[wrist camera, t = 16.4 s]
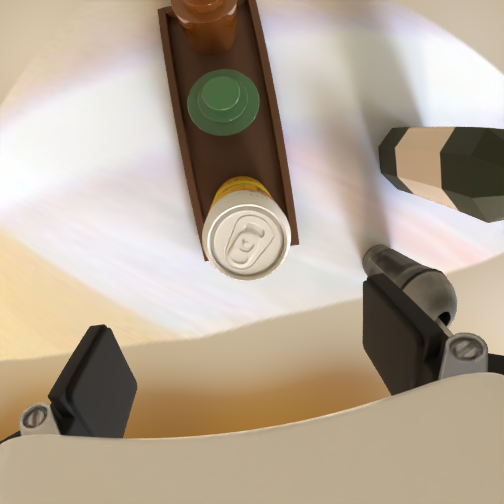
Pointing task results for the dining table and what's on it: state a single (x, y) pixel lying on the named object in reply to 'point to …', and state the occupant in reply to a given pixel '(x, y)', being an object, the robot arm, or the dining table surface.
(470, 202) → the wine bottle
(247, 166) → the tray
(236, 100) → the green bottle
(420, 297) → the beverage cup
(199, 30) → the amber bottle
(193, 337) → the dining table surface
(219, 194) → the beer can
